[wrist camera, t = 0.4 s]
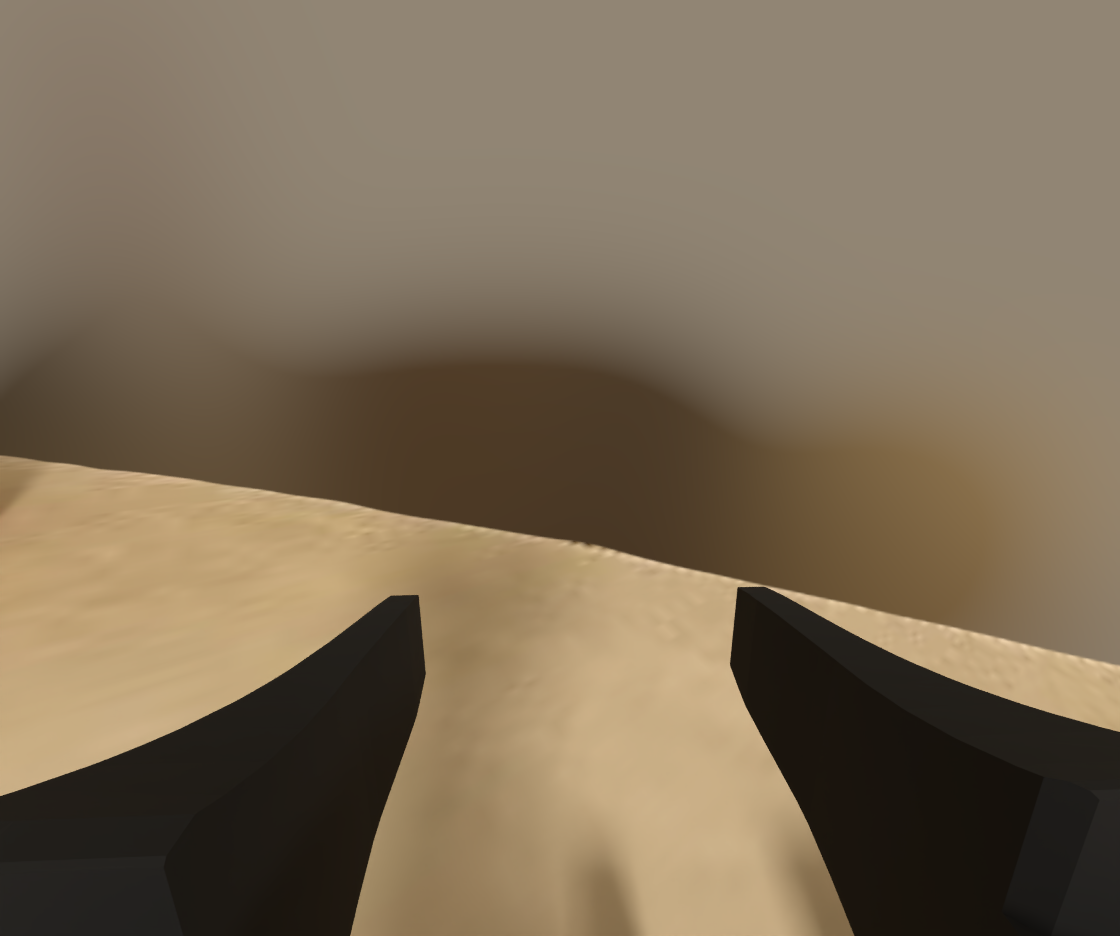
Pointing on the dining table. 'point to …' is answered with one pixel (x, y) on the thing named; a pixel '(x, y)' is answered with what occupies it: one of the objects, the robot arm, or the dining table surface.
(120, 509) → the dining table surface
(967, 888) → the robot arm
